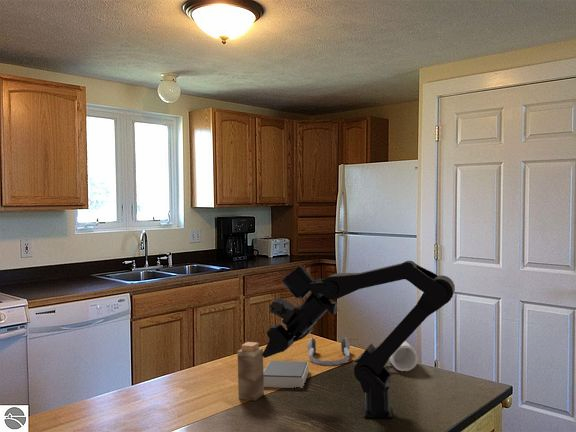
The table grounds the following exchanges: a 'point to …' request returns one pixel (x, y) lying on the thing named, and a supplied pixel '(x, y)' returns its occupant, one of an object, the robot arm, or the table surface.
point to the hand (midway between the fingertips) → (270, 351)
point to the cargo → (250, 346)
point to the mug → (404, 358)
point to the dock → (285, 374)
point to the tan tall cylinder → (250, 374)
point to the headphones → (345, 350)
